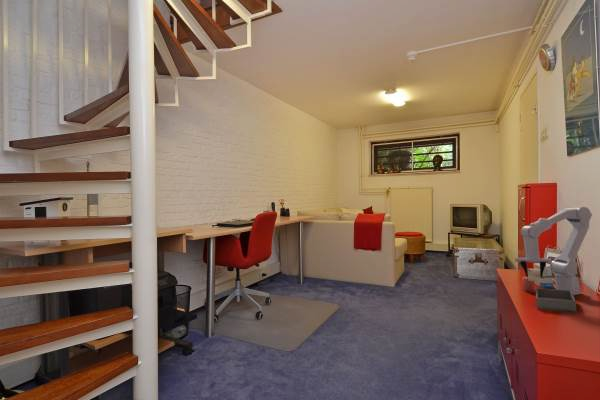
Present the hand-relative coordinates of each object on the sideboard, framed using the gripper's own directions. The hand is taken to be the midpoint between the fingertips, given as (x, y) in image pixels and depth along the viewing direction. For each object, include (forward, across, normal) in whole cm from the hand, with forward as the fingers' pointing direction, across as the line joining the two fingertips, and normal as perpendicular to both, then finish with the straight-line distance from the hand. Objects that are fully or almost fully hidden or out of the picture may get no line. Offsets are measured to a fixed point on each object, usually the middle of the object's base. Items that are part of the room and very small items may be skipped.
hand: (534, 276), depth 157 cm
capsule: (+9, -3, +8) cm, 13 cm away
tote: (+9, +7, -13) cm, 17 cm away
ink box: (+10, +4, +21) cm, 23 cm away
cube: (+2, 0, 0) cm, 2 cm away
